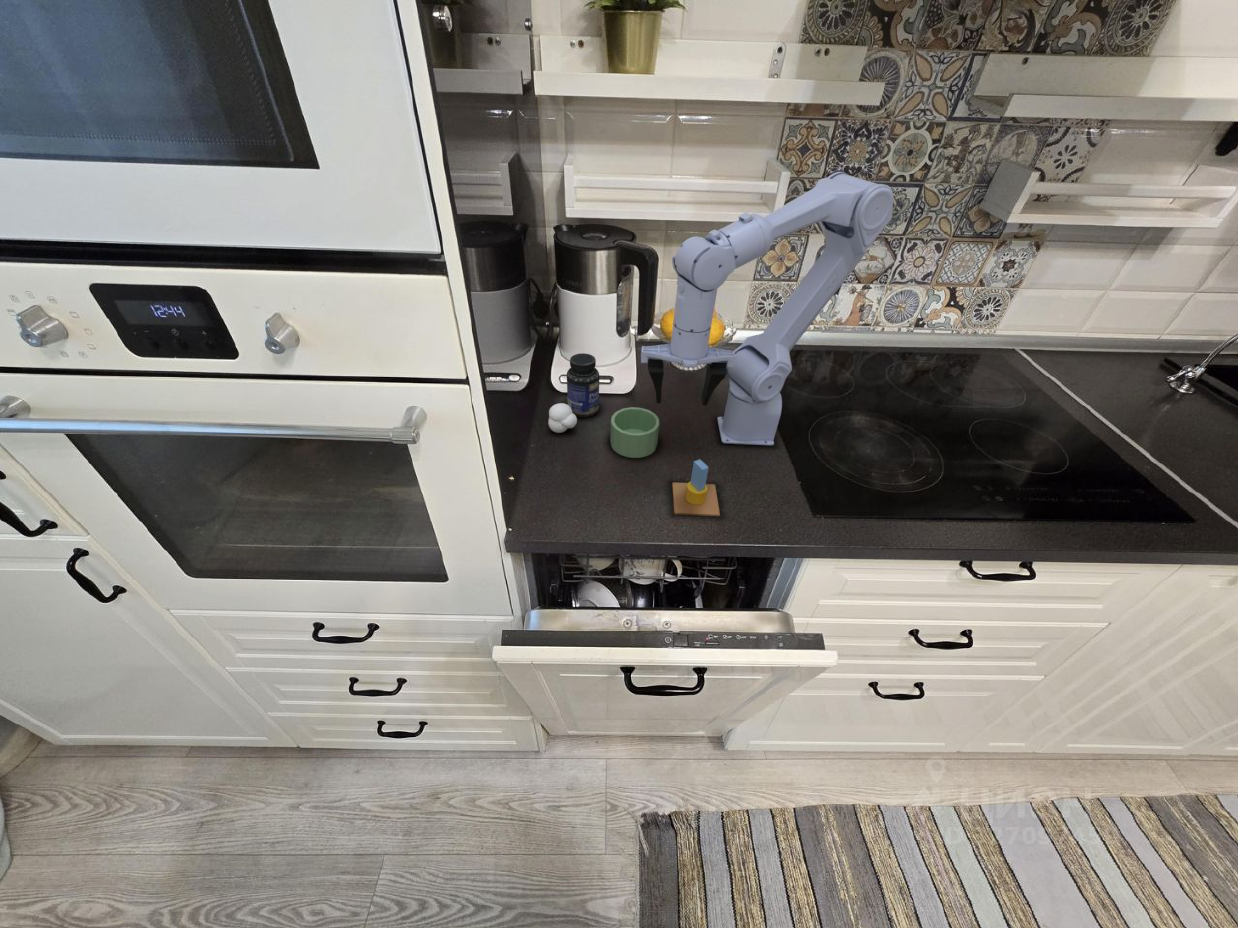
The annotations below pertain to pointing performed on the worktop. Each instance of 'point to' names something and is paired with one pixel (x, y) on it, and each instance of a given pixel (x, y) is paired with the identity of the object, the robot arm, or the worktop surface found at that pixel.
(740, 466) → the worktop surface
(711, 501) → the mat
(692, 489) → the brush
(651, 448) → the green round open container
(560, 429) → the microfossil shell
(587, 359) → the pill bottle
